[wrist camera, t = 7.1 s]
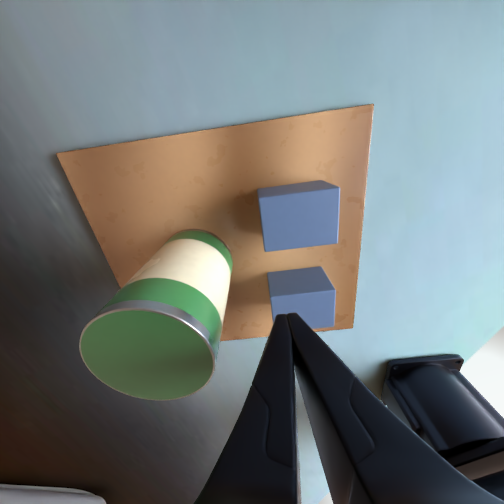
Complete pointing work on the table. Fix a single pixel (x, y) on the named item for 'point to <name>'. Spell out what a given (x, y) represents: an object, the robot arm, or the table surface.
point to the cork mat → (229, 201)
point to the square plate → (46, 495)
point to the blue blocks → (299, 236)
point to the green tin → (164, 321)
